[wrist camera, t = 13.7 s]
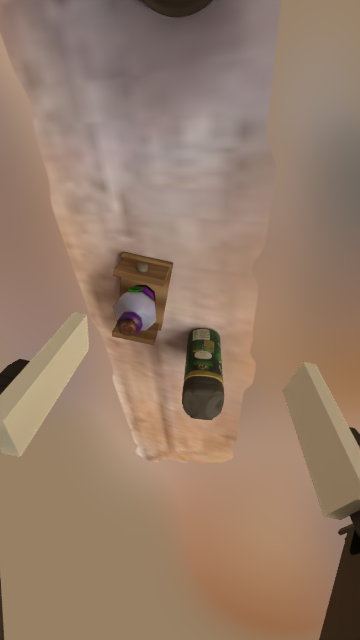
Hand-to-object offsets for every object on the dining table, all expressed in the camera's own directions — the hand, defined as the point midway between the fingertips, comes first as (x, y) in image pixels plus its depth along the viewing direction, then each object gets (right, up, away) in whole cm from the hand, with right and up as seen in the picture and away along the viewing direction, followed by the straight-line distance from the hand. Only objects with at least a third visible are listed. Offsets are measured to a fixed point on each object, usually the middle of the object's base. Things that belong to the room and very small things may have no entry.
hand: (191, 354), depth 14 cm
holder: (-9, +8, +36) cm, 38 cm away
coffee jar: (+5, -3, +42) cm, 43 cm away
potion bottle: (-9, +7, +35) cm, 37 cm away
